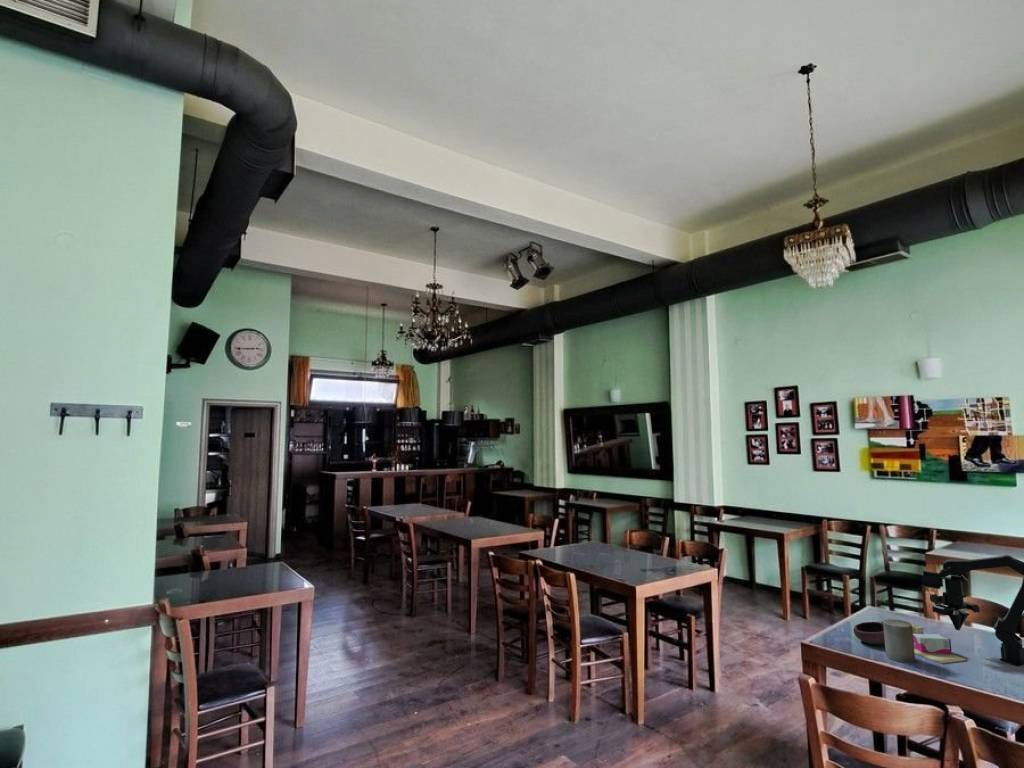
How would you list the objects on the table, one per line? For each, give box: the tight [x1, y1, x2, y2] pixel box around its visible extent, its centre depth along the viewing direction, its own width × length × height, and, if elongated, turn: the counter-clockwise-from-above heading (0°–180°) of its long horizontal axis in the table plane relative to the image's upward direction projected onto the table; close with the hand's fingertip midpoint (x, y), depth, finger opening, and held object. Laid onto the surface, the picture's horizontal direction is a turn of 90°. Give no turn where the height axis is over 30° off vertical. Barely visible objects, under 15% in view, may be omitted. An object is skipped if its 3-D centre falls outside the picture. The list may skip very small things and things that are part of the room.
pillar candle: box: [882, 618, 916, 663], centre depth 220 cm, size 10×10×15 cm
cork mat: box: [914, 648, 968, 665], centre depth 222 cm, size 15×13×1 cm
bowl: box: [853, 620, 885, 646], centre depth 237 cm, size 16×13×8 cm
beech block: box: [911, 623, 925, 634], centre depth 233 cm, size 4×4×8 cm
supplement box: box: [913, 633, 953, 654], centre depth 226 cm, size 6×6×12 cm
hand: (957, 630), depth 227 cm, fingers closed
